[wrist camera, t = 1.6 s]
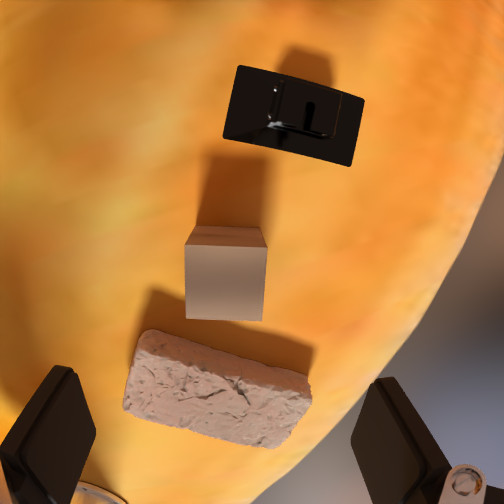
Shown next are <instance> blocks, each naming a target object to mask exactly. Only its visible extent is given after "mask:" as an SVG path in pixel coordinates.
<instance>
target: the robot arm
mask: <svg viewBox="0 0 504 504" xmlns="http://www.w3.org/2000/svg"><path fill="white" fill-rule="evenodd" d="M95 437H96V428H95V425H94V422H93V420H92V417H91V414H90V411H89V408H88V405H87V402H86V399H85V396H84V393H83V390H82V387H81V384H80V380H79V377H78V375H77V373H74V371H73V369H72V368H70V367H65V366H60V365H55V366H54V367H53V368H52V369H51V371H50V372H49V373H48V375H47V376H46V378H45V379H44V380H43V382H42V383H41V385H40V386H39V388H38V389H37V390H36V392H35V393H34V395H33V396H32V398H31V399H30V401H29V402H28V403H27V405H26V406H25V408H24V409H23V411H22V412H21V414H20V415H19V417H18V418H17V420H16V422H15V423H14V425H13V426H12V428H11V429H10V431H9V432H8V434H7V436H6V437H5V439H4V440H3V442H2V444H1V445H0V504H126V503H125V502H124V501H123V500H122V499H120V498H119V497H117V496H115V495H114V494H112V493H110V492H108V491H106V490H104V489H102V488H99V487H97V486H94V485H91V484H88V483H84V482H80V481H79V478H80V476H81V473H82V470H83V468H84V465H85V462H86V460H87V457H88V455H89V452H90V450H91V447H92V444H93V442H94V439H95ZM351 446H352V449H353V451H354V454H355V457H356V459H357V462H358V465H359V467H360V470H361V473H362V476H363V478H364V481H365V483H366V486H367V489H368V492H369V495H370V497H371V500H372V503H373V504H504V489H500V488H496V487H492V486H488V485H486V479H485V475H484V474H483V473H482V471H481V470H480V469H478V468H477V467H475V466H472V465H468V464H462V465H458V466H456V467H454V468H452V467H451V465H450V464H449V462H448V460H447V459H446V457H445V455H444V454H443V452H442V451H441V449H440V447H439V446H438V444H437V443H436V441H435V439H434V438H433V436H432V434H431V433H430V431H429V430H428V428H427V426H426V425H425V423H424V422H423V420H422V419H421V417H420V415H419V414H418V413H417V411H416V409H415V408H414V406H413V405H412V403H411V402H410V400H409V399H408V397H407V396H406V394H405V392H404V391H403V389H402V388H401V386H400V385H399V383H398V382H397V380H396V379H395V378H394V377H385V378H378V379H376V380H375V381H374V383H372V384H370V386H369V389H368V392H367V395H366V398H365V401H364V404H363V406H362V409H361V412H360V415H359V418H358V420H357V423H356V426H355V428H354V430H353V433H352V436H351Z"/></svg>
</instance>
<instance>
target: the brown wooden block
mask: <svg viewBox="0 0 504 504" xmlns="http://www.w3.org/2000/svg"><path fill="white" fill-rule="evenodd" d="M266 261H267V246H266V243H265V241H264V238H263V236H262V233H261V231H260V228H253V227H228V226H200V225H195V227H194V229H193V231H192V233H191V234H190V236H189V238H188V240H187V242H186V243H185V303H186V319H206V320H233V321H262V314H263V301H264V288H265V274H266Z"/></svg>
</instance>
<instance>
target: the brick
mask: <svg viewBox="0 0 504 504" xmlns="http://www.w3.org/2000/svg"><path fill="white" fill-rule="evenodd" d="M310 387H311V386H310V385H309V383H308V378H307V376H306V375H303V374H302V373H297V372H294V371H292V370H289V369H284V368H279V367H268V366H267V365H264V364H262V363H260V362H257V361H254V360H249V359H244V358H241V357H238V356H236V355H234V354H231V353H226V352H224V351H221V350H213V349H212V348H211V347H208V346H205V345H202V344H199V343H196V342H193V341H190V340H187V339H184V338H181V337H178V336H173V335H171V334H167V333H164V332H162V331H159V330H155V329H149V330H146V331H145V332H144V333H143V334H142V336H141V337H140V338H139V340H138V344H137V346H136V349H135V353H134V356H133V360H132V363H131V366H130V371H129V375H128V379H127V382H126V386H125V392H124V398H123V409H124V411H126V412H127V413H131V414H133V415H134V416H135V417H138V418H141V419H144V420H148V421H151V422H154V423H158V424H163V425H167V426H170V427H176V428H181V429H189V430H191V431H193V432H196V433H200V434H203V435H206V436H209V437H213V438H218V439H221V440H224V441H229V442H232V443H236V444H240V445H250V446H252V447H264V448H267V449H274V448H277V447H278V446H280V445H281V444H282V442H284V441H285V440H286V439H287V438H288V437H289V436H290V434H291V431H292V429H293V428H294V427H295V426H296V425H297V422H298V421H299V420H300V419H301V418H302V417H303V416H304V414H305V413H306V411H307V409H308V408H309V407H310V405H311V403H312V395H311V390H310Z"/></svg>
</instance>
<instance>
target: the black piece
mask: <svg viewBox="0 0 504 504" xmlns="http://www.w3.org/2000/svg"><path fill="white" fill-rule="evenodd" d="M364 102H365V100H364V99H363V98H360V97H357V96H354V95H351V94H349V93H346V92H343V91H340V90H336V89H333V88H330V87H327V86H324V85H320V84H317V83H314V82H310V81H307V80H303V79H299V78H296V77H292V76H288V75H284V74H280V73H276V72H271V71H267V70H263V69H258V68H253V67H248V66H243V65H239V66H238V67H237V71H236V76H235V80H234V85H233V89H232V94H231V98H230V103H229V107H228V112H227V117H226V121H225V126H224V131H223V138H224V139H228V140H234V141H239V142H244V143H249V144H254V145H259V146H264V147H269V148H274V149H278V150H283V151H287V152H292V153H296V154H300V155H304V156H308V157H313V158H317V159H321V160H324V161H328V162H332V163H336V164H340V165H343V166H347V167H350V166H351V164H352V160H353V155H354V151H355V146H356V142H357V137H358V132H359V128H360V123H361V118H362V113H363V107H364Z"/></svg>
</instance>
